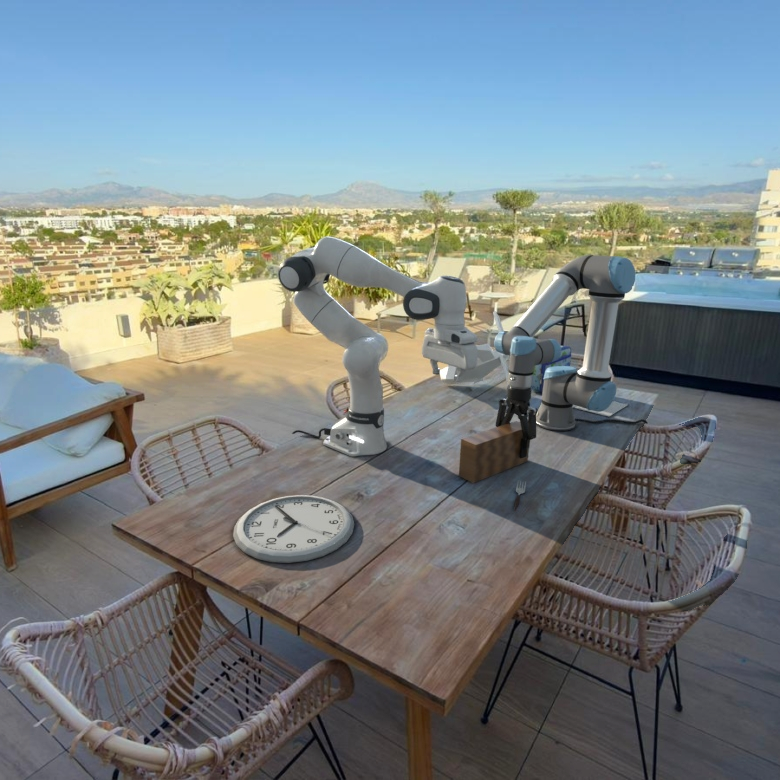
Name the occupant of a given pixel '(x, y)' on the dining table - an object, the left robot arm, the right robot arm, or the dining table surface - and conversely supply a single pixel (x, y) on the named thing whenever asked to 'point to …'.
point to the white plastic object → (479, 363)
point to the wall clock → (293, 529)
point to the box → (491, 452)
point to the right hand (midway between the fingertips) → (513, 452)
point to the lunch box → (540, 369)
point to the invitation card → (609, 411)
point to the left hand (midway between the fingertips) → (446, 377)
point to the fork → (519, 491)
